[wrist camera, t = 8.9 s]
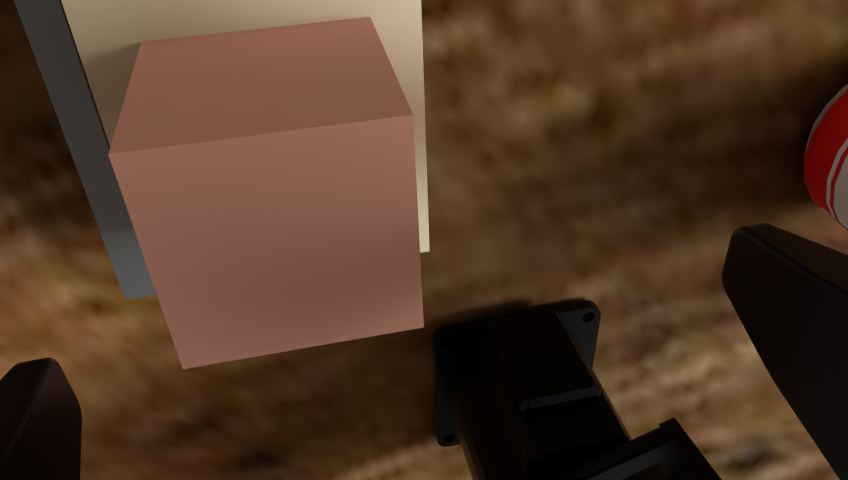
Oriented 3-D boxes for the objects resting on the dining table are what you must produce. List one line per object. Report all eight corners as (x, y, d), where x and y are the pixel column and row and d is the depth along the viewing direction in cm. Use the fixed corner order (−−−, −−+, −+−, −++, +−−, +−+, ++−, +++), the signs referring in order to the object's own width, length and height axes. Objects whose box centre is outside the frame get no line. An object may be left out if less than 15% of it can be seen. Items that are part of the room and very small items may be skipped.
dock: (402, 184, 22) (427, 250, 20) (137, 223, 21) (125, 299, 18) (378, -236, 16) (411, -225, 13) (-9, -216, 15) (-62, -200, 12)
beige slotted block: (398, 164, 20) (429, 251, 16) (172, 194, 19) (159, 292, 15) (381, -118, 15) (418, -74, 12) (88, -96, 14) (47, -43, 11)
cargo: (385, 200, 15) (424, 327, 12) (194, 228, 15) (183, 369, 12) (370, 16, 13) (413, 114, 10) (141, 41, 12) (108, 154, 9)
